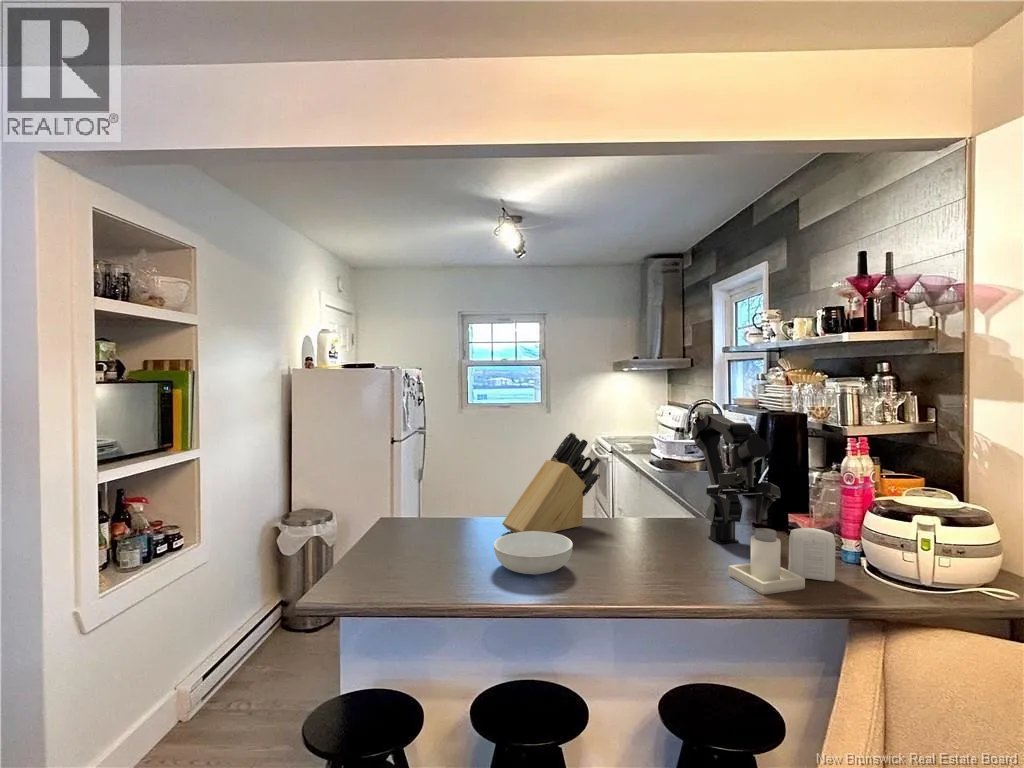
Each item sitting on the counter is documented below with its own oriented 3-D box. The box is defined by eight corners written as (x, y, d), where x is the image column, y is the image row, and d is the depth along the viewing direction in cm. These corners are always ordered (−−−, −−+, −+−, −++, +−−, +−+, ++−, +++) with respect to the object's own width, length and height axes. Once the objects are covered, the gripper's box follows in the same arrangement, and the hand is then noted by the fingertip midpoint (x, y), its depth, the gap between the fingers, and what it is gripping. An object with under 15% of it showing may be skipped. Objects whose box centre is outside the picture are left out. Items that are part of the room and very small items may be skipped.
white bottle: (766, 572, 133) (766, 526, 133) (786, 583, 127) (786, 533, 127) (744, 575, 131) (744, 528, 131) (763, 586, 125) (764, 536, 125)
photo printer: (832, 576, 132) (833, 528, 132) (837, 583, 128) (837, 533, 128) (787, 572, 135) (787, 524, 135) (790, 578, 131) (790, 529, 131)
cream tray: (767, 570, 137) (767, 560, 136) (804, 588, 125) (804, 578, 125) (728, 575, 133) (728, 565, 133) (763, 594, 122) (763, 584, 122)
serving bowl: (531, 549, 154) (531, 526, 154) (588, 568, 139) (588, 542, 139) (477, 568, 139) (477, 542, 139) (535, 591, 124) (534, 562, 124)
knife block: (603, 522, 181) (603, 432, 181) (522, 541, 161) (522, 441, 160) (580, 514, 190) (580, 429, 190) (501, 532, 170) (500, 437, 169)
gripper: (695, 460, 149) (692, 516, 143) (759, 455, 135) (759, 515, 129) (718, 471, 155) (716, 525, 149) (781, 467, 141) (782, 526, 135)
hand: (741, 523), depth 140 cm, fingers open, 9 cm apart
